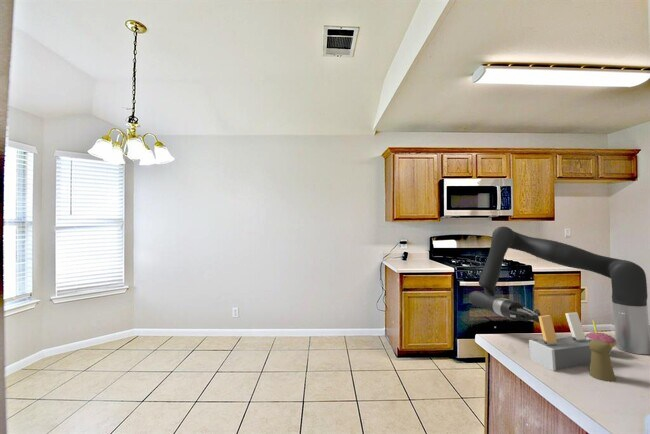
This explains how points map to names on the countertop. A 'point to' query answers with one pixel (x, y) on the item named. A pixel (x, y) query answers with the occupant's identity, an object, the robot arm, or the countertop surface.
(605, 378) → the cork
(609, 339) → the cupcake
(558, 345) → the switch box
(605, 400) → the countertop surface
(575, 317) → the rocker switch
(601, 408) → the countertop surface
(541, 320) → the outlet rocker
